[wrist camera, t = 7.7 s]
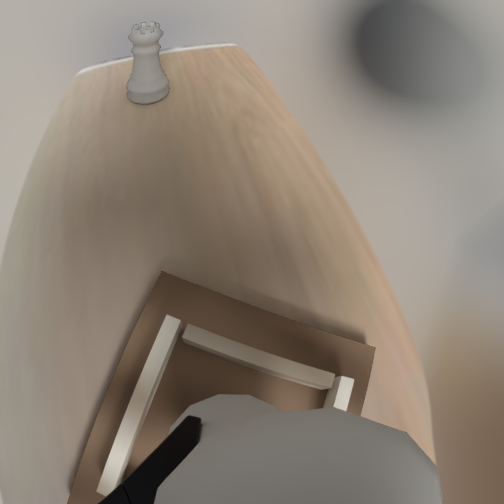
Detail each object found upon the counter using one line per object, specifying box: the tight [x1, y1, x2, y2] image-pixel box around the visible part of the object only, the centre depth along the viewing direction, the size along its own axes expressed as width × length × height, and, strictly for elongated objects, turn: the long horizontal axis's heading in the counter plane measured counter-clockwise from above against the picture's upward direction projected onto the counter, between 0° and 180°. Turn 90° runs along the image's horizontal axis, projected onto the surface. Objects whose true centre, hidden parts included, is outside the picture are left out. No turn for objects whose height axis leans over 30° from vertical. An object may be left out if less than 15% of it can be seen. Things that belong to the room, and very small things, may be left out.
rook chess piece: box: [126, 22, 170, 104], centre depth 24 cm, size 4×4×8 cm
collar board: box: [67, 271, 376, 504], centre depth 14 cm, size 16×14×2 cm
